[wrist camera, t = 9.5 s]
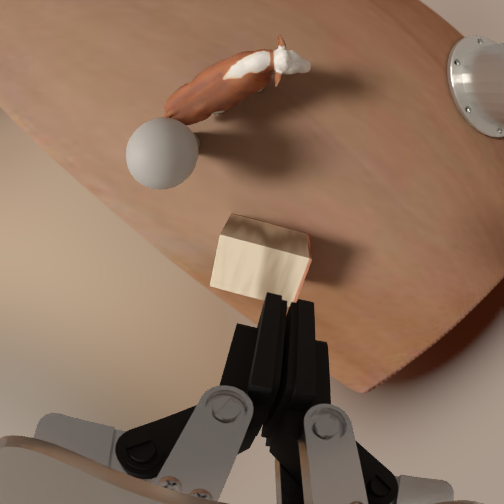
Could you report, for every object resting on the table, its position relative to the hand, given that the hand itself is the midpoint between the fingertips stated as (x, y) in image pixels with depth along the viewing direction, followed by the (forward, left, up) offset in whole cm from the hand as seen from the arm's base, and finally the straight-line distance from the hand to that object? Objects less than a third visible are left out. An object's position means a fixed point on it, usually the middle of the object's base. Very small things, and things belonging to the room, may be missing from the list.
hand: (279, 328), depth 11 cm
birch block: (-4, +8, -20) cm, 22 cm away
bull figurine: (+7, -9, -23) cm, 26 cm away
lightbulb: (+11, -2, -23) cm, 26 cm away
